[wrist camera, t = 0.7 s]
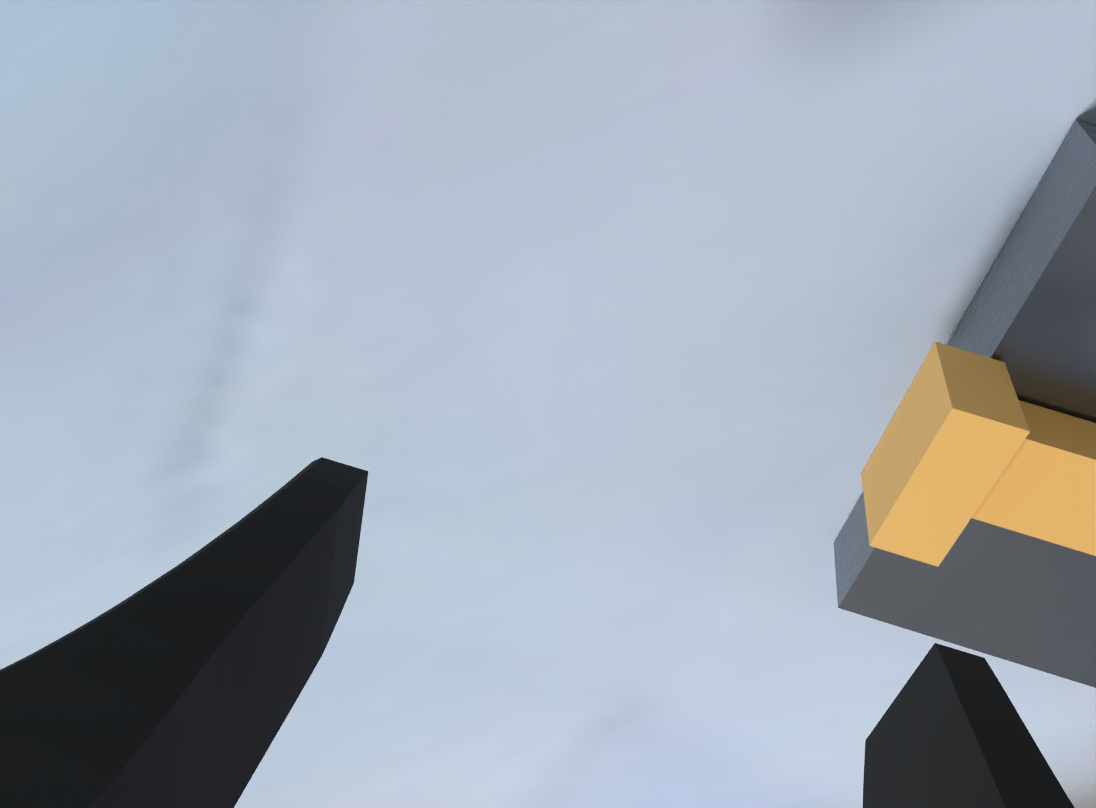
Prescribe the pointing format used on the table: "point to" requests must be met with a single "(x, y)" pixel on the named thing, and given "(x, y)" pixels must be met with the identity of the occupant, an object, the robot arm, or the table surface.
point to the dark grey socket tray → (1038, 378)
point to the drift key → (977, 463)
